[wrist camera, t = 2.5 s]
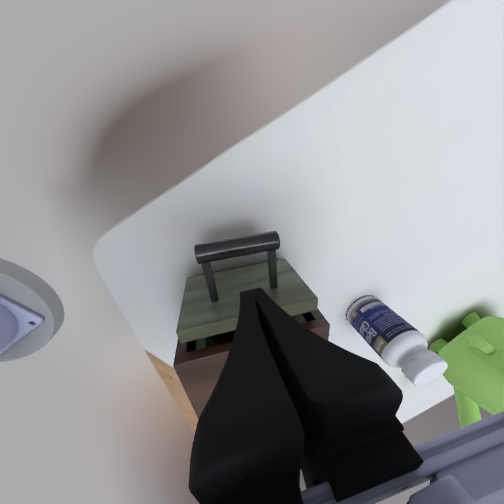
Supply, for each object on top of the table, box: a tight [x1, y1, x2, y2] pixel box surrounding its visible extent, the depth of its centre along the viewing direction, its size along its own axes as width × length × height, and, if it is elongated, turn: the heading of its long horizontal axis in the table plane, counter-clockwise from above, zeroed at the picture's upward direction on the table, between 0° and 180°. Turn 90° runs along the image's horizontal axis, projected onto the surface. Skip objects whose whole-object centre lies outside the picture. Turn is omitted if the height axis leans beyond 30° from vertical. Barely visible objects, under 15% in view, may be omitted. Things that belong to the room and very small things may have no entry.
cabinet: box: [173, 308, 330, 419], centre depth 20 cm, size 14×12×9 cm
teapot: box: [429, 312, 504, 428], centre depth 32 cm, size 25×22×16 cm
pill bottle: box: [347, 296, 448, 386], centre depth 23 cm, size 5×5×10 cm
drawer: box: [176, 231, 318, 350], centre depth 18 cm, size 17×10×7 cm, turn 6°
